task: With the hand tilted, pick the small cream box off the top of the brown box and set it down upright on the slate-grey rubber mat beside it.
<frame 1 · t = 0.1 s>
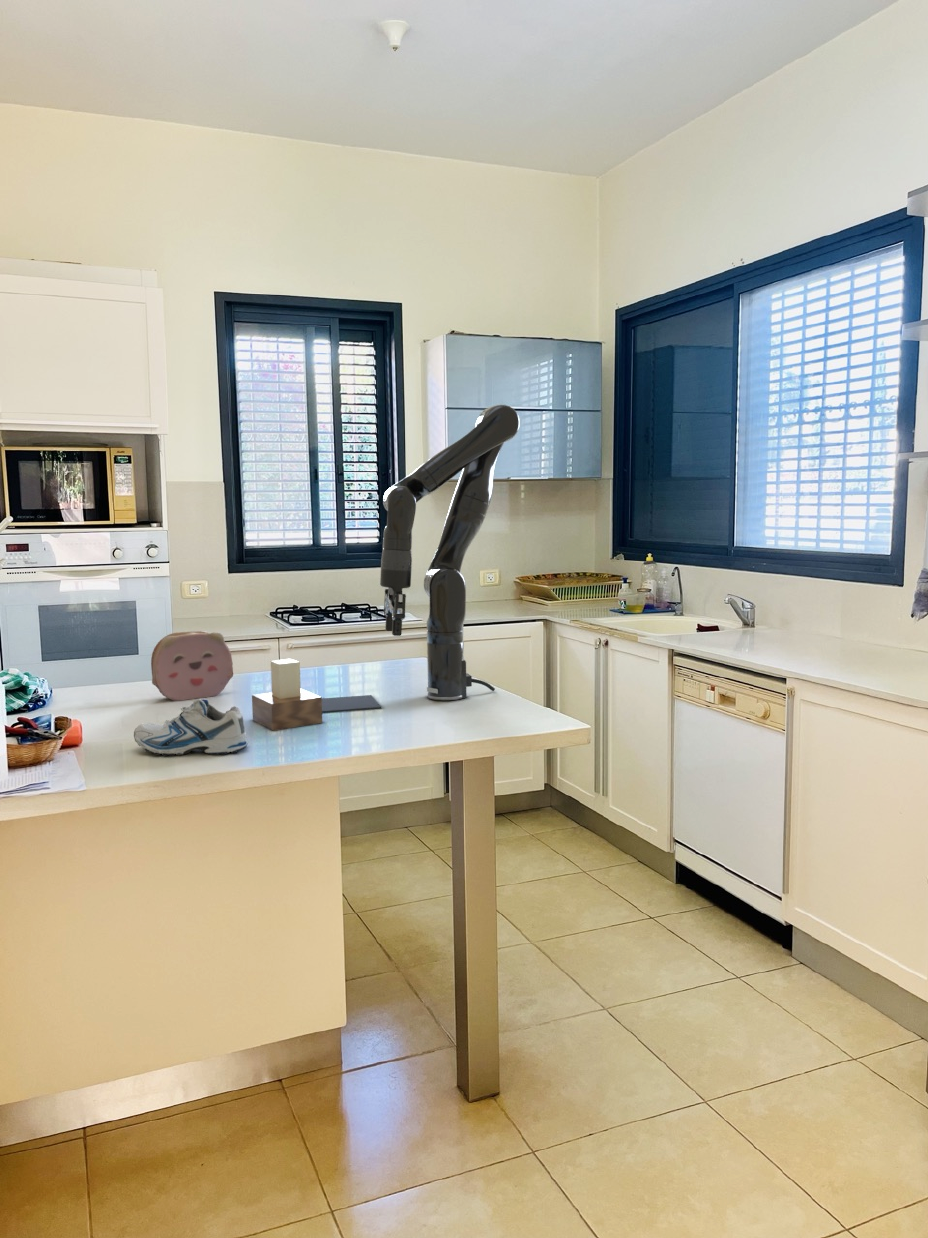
hand: (393, 633, 231), 17 cm above the countertop, tool pointing down, fingers open, 8 cm apart
athletic shoe: (191, 750, 191), on the countertop
face sculpture: (193, 697, 242), on the countertop
cream box: (286, 695, 213), point 6 cm above the countertop, touching brown box
rubber mat: (344, 704, 230), on the countertop
brown box: (287, 721, 214), on the countertop
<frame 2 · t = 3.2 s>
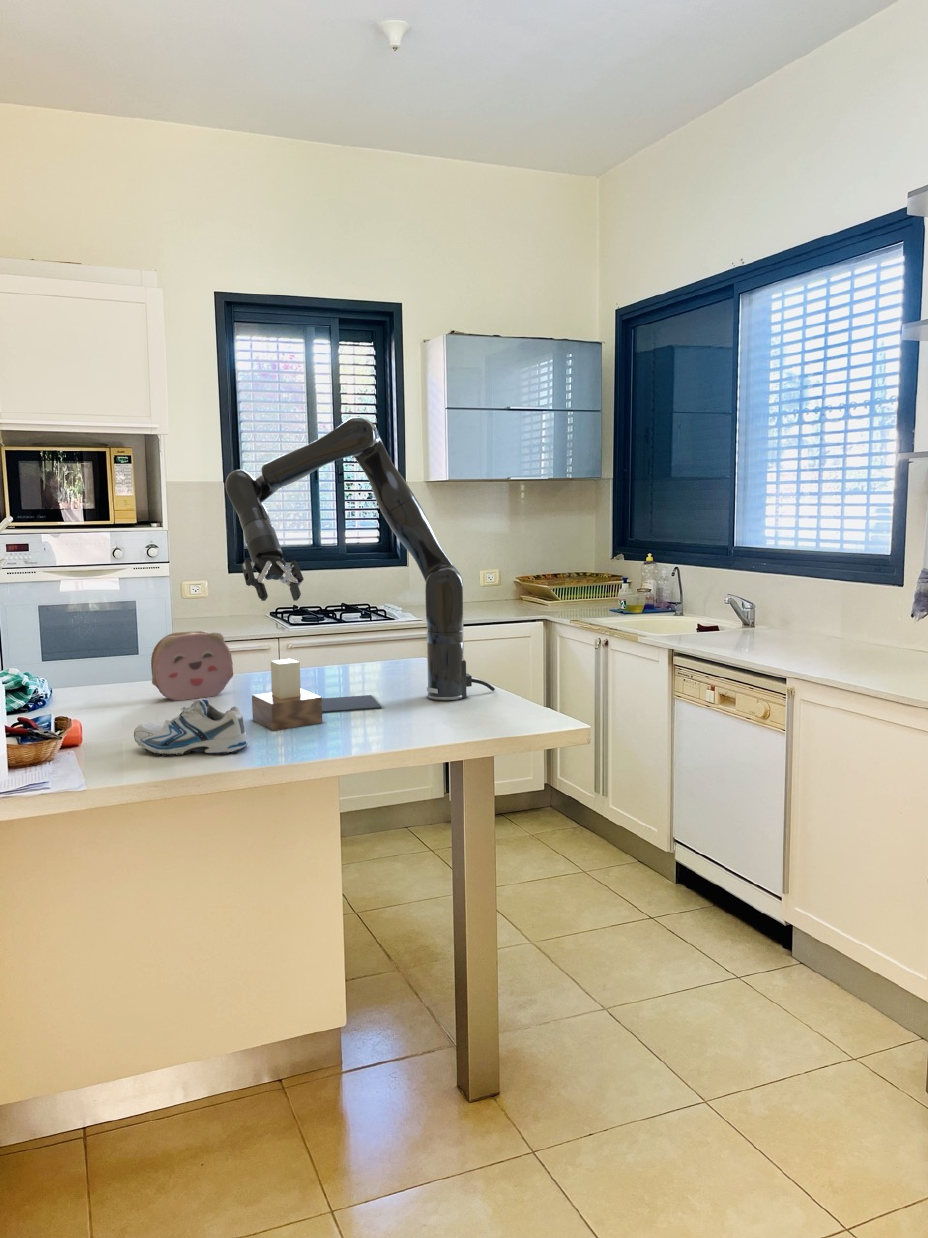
hand: (281, 599, 219), 27 cm above the countertop, tool tilted 35°, fingers open, 8 cm apart
nothing on the countertop moved.
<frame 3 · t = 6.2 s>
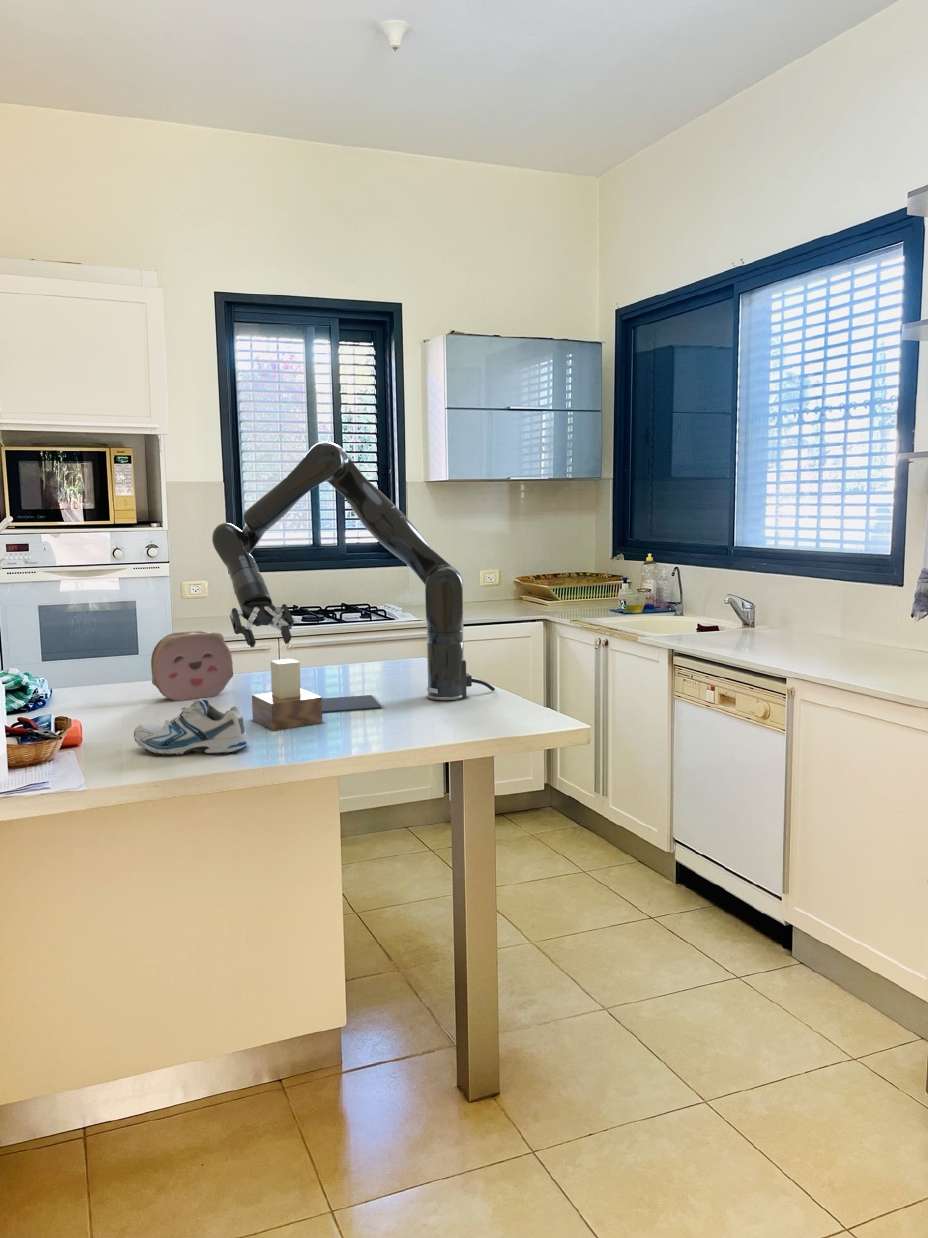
hand: (271, 643, 218), 17 cm above the countertop, tool tilted 45°, fingers open, 8 cm apart
nothing on the countertop moved.
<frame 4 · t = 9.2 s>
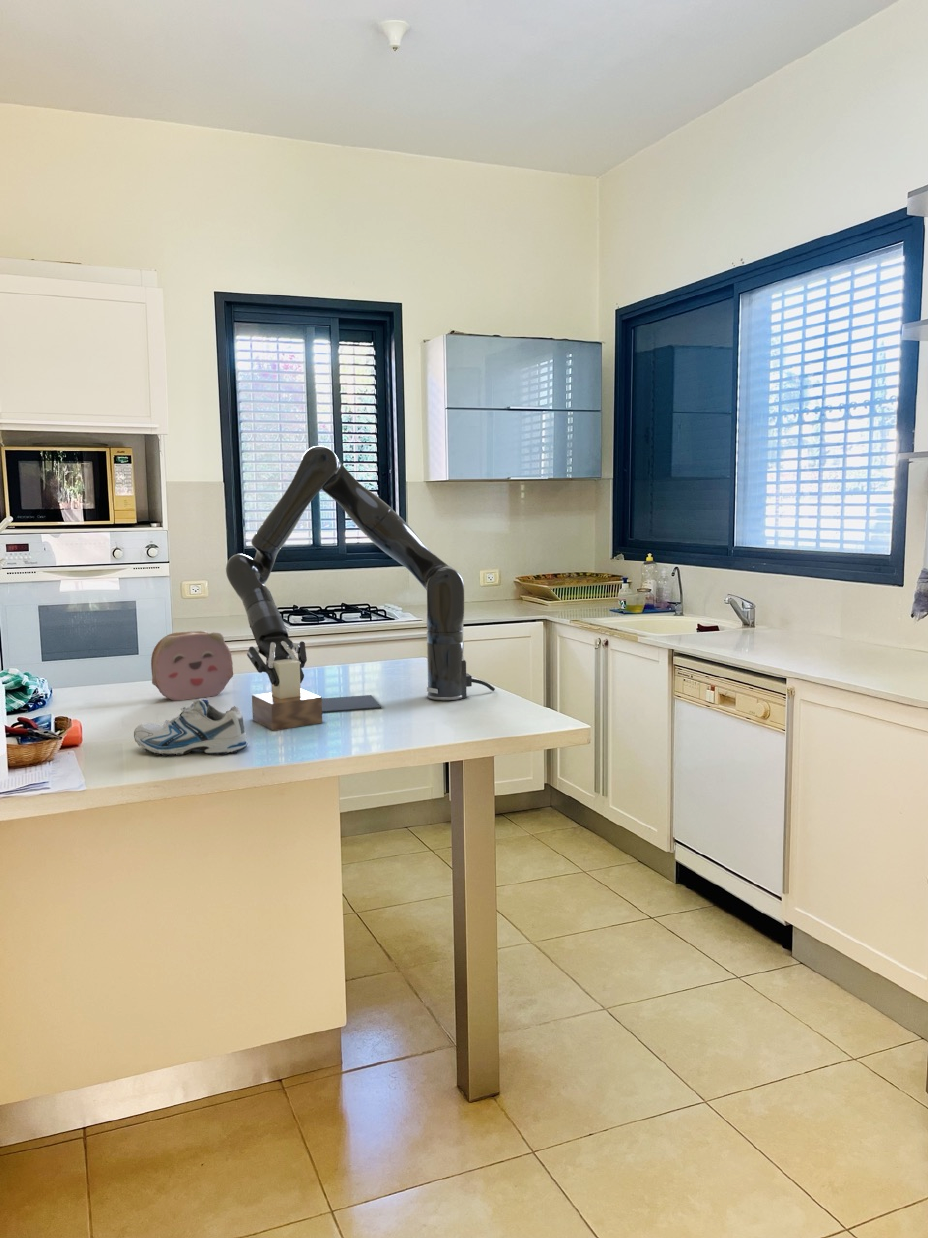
hand: (289, 682, 211), 9 cm above the countertop, tool tilted 45°, fingers closed on cream box, 5 cm apart
cream box: (286, 695, 213), point 6 cm above the countertop, touching gripper, brown box
everything else where it was.
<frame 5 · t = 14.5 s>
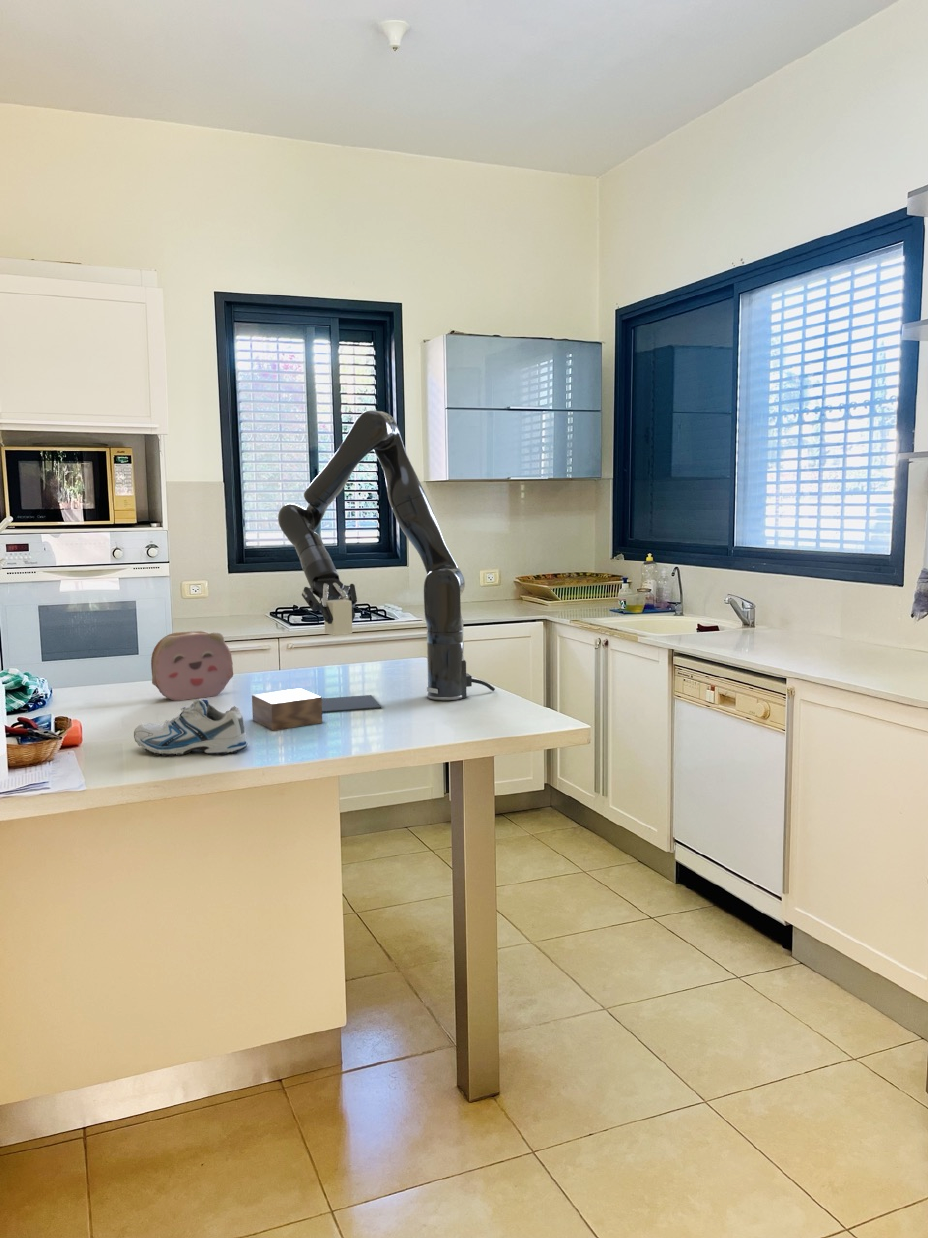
hand: (341, 620, 225), 21 cm above the countertop, tool tilted 45°, fingers closed on cream box, 5 cm apart
cream box: (338, 633, 227), point 18 cm above the countertop, touching gripper
everything else where it was.
when the fingers open (4 cm above the countertop, at t = 19.6 s): cream box stays where it is, resting on rubber mat.
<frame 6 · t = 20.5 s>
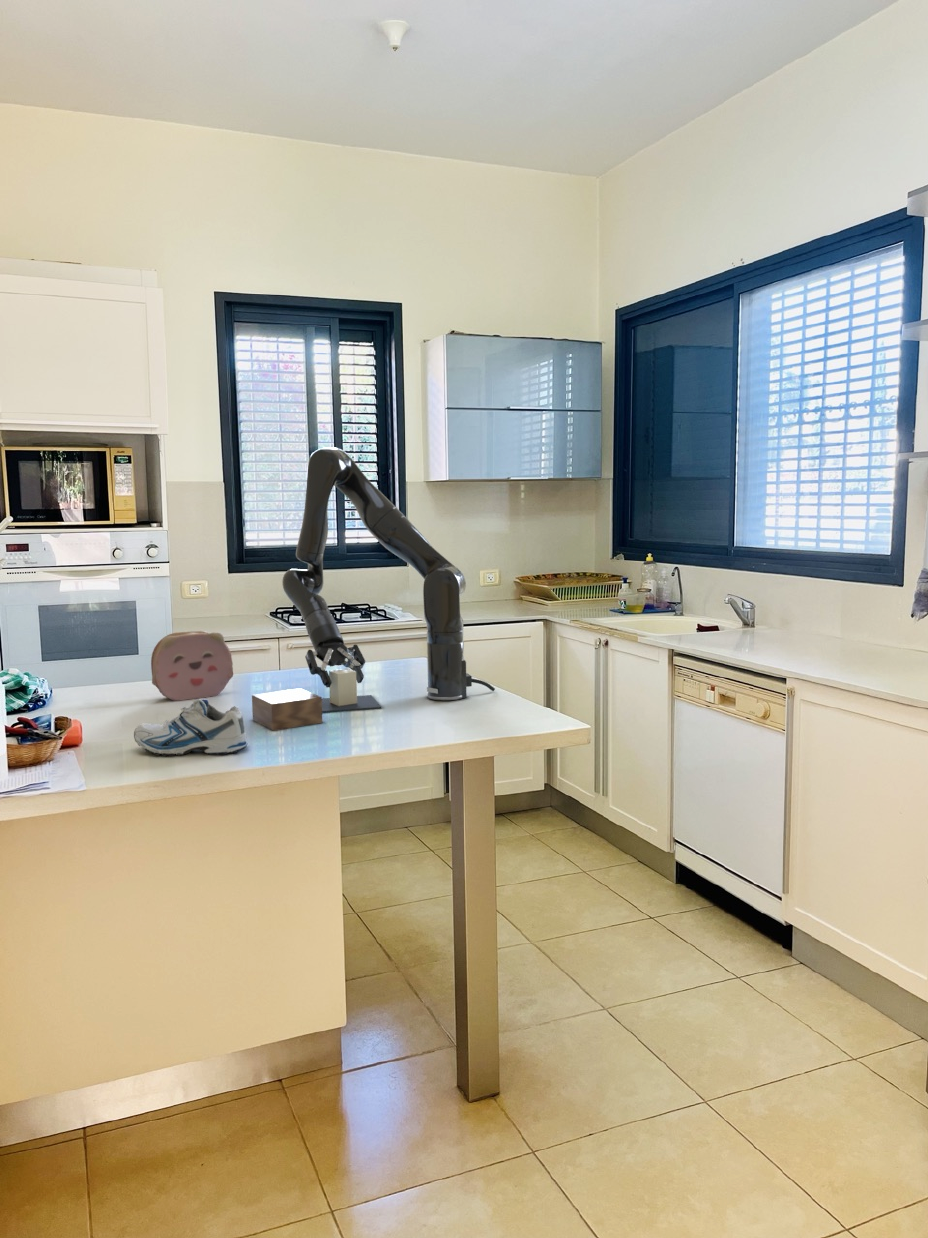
hand: (345, 683, 229), 5 cm above the countertop, tool tilted 45°, fingers open, 8 cm apart
cream box: (343, 703, 230), resting on rubber mat
everything else where it was.
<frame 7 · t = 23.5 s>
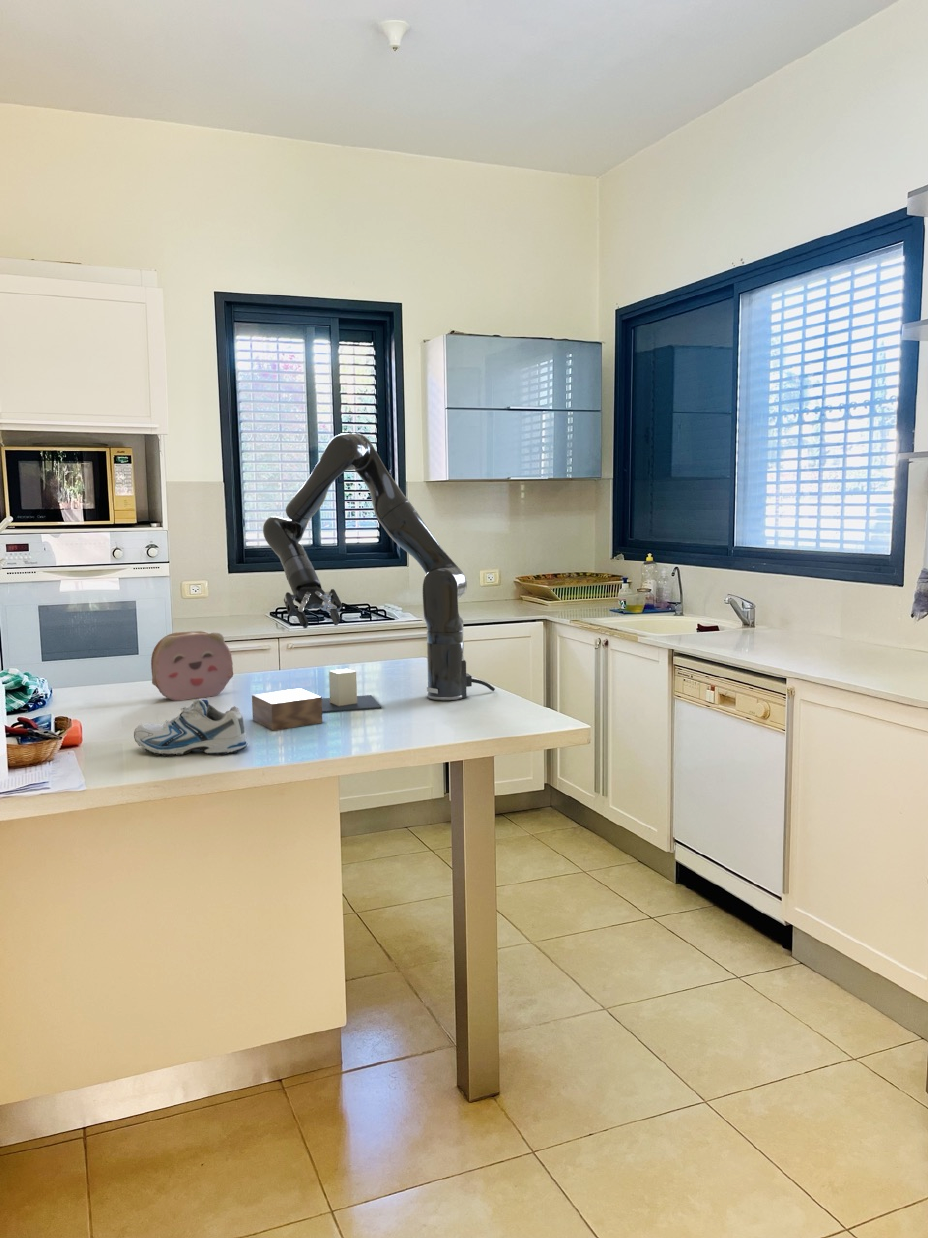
hand: (322, 624, 237), 19 cm above the countertop, tool tilted 45°, fingers open, 8 cm apart
nothing on the countertop moved.
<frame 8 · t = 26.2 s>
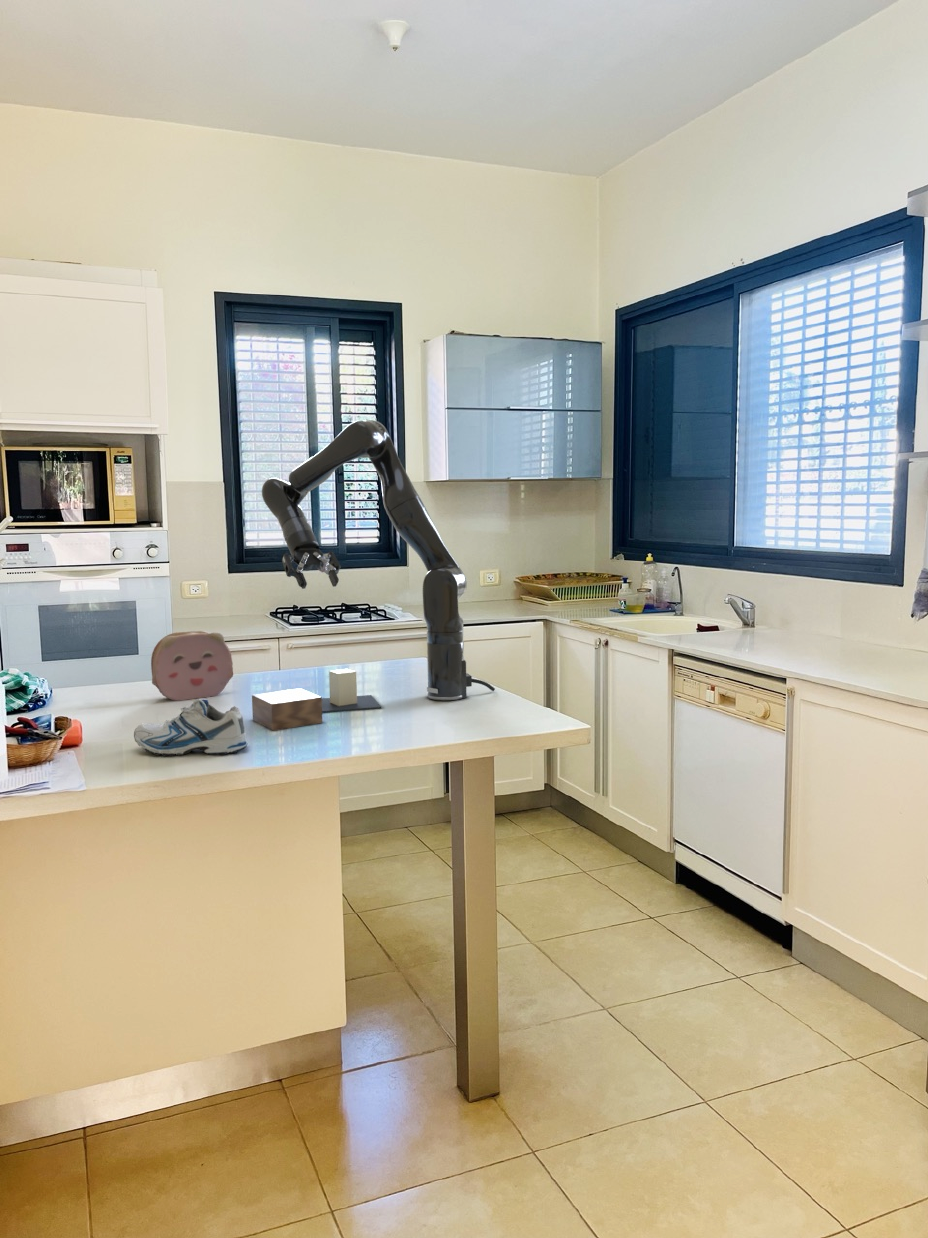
hand: (320, 585, 236), 29 cm above the countertop, tool tilted 45°, fingers open, 8 cm apart
nothing on the countertop moved.
at the end: cream box inside the target area on the rubber mat (0.2 cm from its centre), point 0.4 cm above the rubber mat's base; cream box tilted 0°; cream box touching rubber mat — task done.
